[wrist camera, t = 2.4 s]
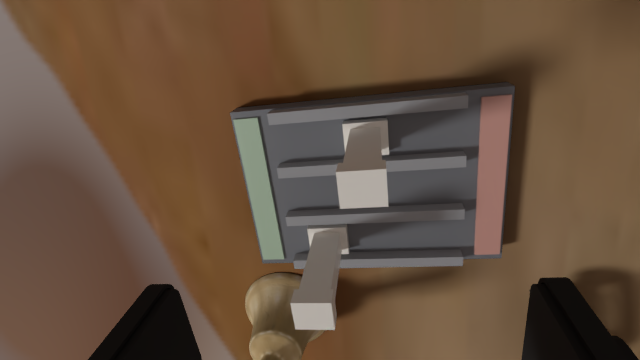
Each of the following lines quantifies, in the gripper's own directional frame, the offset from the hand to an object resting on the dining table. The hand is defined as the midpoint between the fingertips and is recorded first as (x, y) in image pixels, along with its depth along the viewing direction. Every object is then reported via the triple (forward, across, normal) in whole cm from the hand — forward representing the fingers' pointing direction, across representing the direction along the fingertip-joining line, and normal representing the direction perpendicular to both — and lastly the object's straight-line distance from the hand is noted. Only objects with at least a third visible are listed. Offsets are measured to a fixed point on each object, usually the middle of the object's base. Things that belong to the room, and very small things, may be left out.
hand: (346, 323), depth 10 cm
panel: (+19, 0, +4) cm, 20 cm away
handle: (+18, +3, +8) cm, 20 cm away
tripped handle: (+18, 0, 0) cm, 18 cm away
